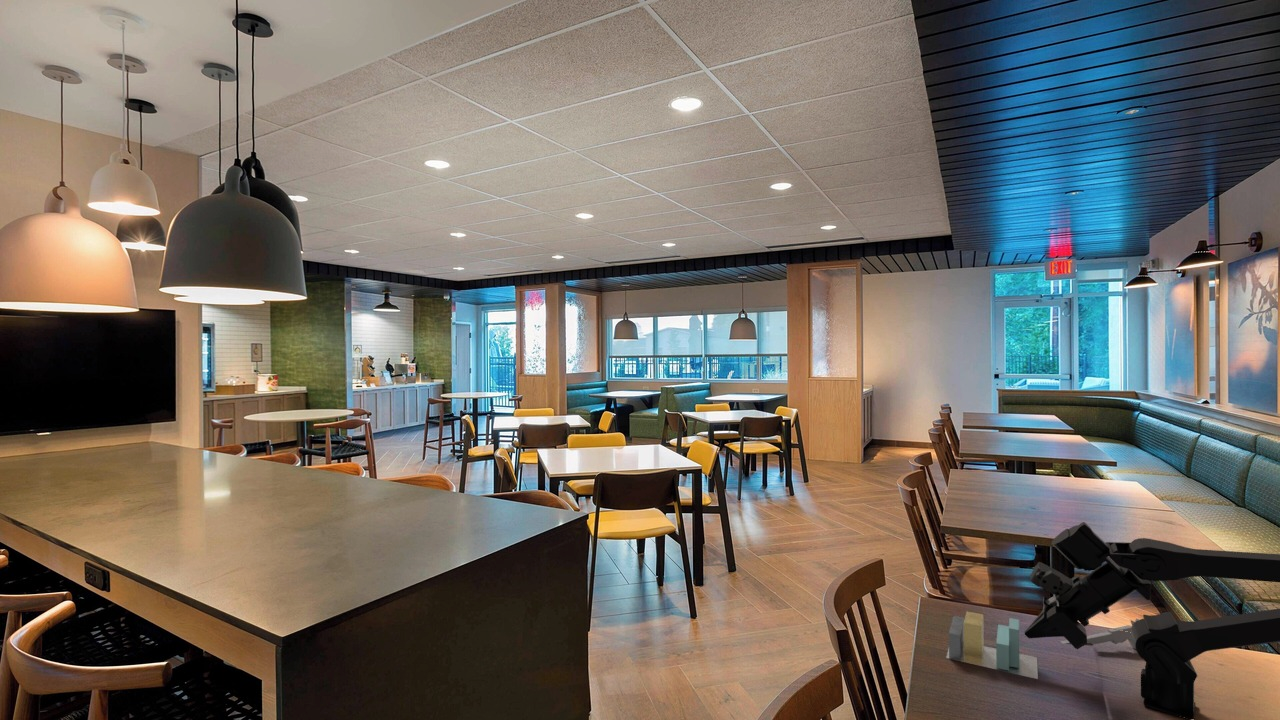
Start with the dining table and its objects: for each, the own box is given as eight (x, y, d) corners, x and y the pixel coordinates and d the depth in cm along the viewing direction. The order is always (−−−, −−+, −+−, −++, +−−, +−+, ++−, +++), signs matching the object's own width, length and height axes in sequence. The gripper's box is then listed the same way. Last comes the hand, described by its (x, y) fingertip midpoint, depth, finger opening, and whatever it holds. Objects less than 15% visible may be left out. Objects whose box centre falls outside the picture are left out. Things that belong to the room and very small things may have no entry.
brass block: (983, 649, 122) (983, 614, 122) (981, 662, 117) (981, 626, 117) (966, 645, 123) (966, 611, 123) (964, 658, 118) (963, 622, 118)
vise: (1037, 665, 118) (1036, 632, 118) (1037, 687, 111) (1037, 651, 111) (951, 646, 126) (950, 615, 126) (946, 665, 119) (945, 632, 119)
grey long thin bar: (1143, 648, 125) (1143, 617, 125) (1147, 650, 124) (1147, 620, 124) (1044, 650, 125) (1043, 619, 125) (1047, 652, 124) (1047, 622, 123)
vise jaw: (1019, 652, 120) (1019, 615, 120) (1019, 672, 112) (1018, 634, 112) (998, 647, 122) (998, 612, 122) (996, 667, 114) (996, 629, 114)
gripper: (1058, 539, 120) (994, 583, 126) (1063, 568, 104) (989, 617, 110) (1108, 586, 116) (1039, 630, 122) (1121, 625, 100) (1041, 672, 106)
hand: (1026, 635), depth 115 cm, fingers closed
